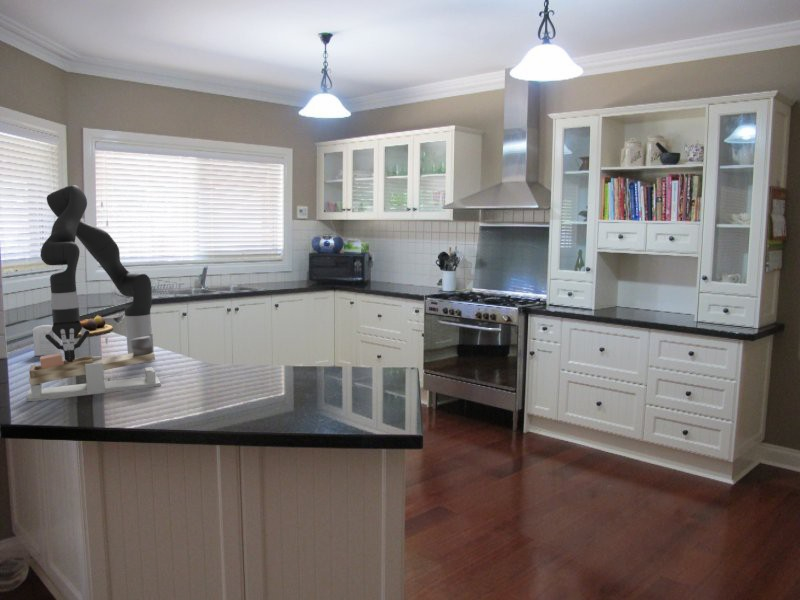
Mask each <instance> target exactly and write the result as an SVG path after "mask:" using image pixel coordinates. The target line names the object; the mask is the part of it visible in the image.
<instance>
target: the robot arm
mask: <svg viewBox="0 0 800 600" xmlns="http://www.w3.org/2000/svg"><path fill="white" fill-rule="evenodd" d="M46 202H47V205H48V207H49V208H50V210H51V211H52V213H54V215H55V216H56V217H57V218H56V220H55V221H54V223H53V224H52V228H51V233H50V235H49V237H48V238H47V239H46V240H45V241H44V243H43V244H42V245H41V249H40V257H41V258H40V259H41V261H42V262H43V263H44V264H45V265H47V266H66V269H65V270H63V271H60V272H56V273H52V274H51V275H50V277H49V285H50V307H51V315H52V325H53V327H52V330H51V331H50V332H49V333H47V334H46V335H45V337H46V338H47V339H48V340H49V341H50V342H51V343H52V344H53V345H54V346H55V347H56V348H57V349H61V350H62V351H63V355H64V360H66V361H68V362H73V360H75V358H76V354H75V350H76V349H78V348H80V347H81V346H82V344H83V343H84V342H85V340H86V339H87V338H88V337H87V336H88V335H89V333H90V332H89V330H86V329H84V328H82V325H81V323H80V320H81V319H80V317H81V316H80V305H79V304H80V303H79V298H78V294H77V282H76V276H77V274H76V273H77V267H78V264H79V263H78V262H79V257H80V247H79V246H78V245H77V243H76V238H77V239H78V240H79V241H80V243H81V244H82V245H83V246H84V247H85V249H86V250H87V251H88V252H89V254H90V255H91V256H92V257H93V259H94V260H95V261H97V263H98V264H99V265H100V266H101V268H102V269H103V270H104V272H105V273H106V274H107V276H109V278H110V280H111V281H112V283H113V284H114V285H115V288H116V289H117V290H118V291H119V293H120V294H121V295H122V296H124V297H128V298H132V304H131V305H129V306H126V307H125V308H124V323H125V333H126V348H127V354H130V353H133V350H132V345H131V340H132V339H134V338H138V337H144V336H150V339H151V345H152V350H153V353H154V354H155V351H154V349H155V348H154V336H153V333H152V332H153V331H152V318H151V316H152V315H151V309H152V305H153V302H152V301H153V298H152V297H153V296H152V295H153V294H152V293H153V292H152V291H153V290H152V281H151V278H150V277H149V276H148V275H147V274H146V273H139V272H138V273H137V272H135V273H134V272H130V271H129V270H127V268H125V266H124V265H123V263H122V262H121V258H120V257H121V256H120V248H119V246H118V244H117V243H116V241H115V240H114V239H113V238H112V237H111V235H110V234H109V233H108V232H107V231H106V230H104V229H102V228H100V227H98V226H95V225H93V224H89V223H88V222H85V221H82V220H81V219H82V218H83V216H84V213H85V211H86V209H87V206H88V200H87V196H86V194H85V193H84V191H83V190H82V189H81V187H79V186H78V185H75V184H71V185H67V186H65V187H63V188H60V189H58V190H55V191H53V192H50V193H49V194H48V195H47V196H46ZM80 331H81V335H82V336H81V337H80V338H79V339H78V341H76V343H75V339H76V337H77V335H78V334H79V332H80ZM53 333H55V334H56V335H57V336H58V337H59V338H60V339H61V344H60V343H58V342H57V341H56V340H55V339H54V334H53ZM68 339H69V344H68Z"/></svg>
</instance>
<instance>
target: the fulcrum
mask: <svg viewBox="0 0 800 600" xmlns="http://www.w3.org/2000/svg"><path fill="white" fill-rule="evenodd" d="M92 357H93V361H95V360H100V359H103V357H102V355H100V356H99V355H98V356H92ZM85 370H86V374H85V379H86V381H85V382H86V383H80V384H78V383H77V384H71V385H69V384H68V385H61V386H53V387H44V388H43V385H42V384H43V383H41V384H36V385H31V386H30V389H29V390H28V393H27V396H26V402H27V401H33V402H39V401H38V400H41V401H47V400H46V399H49V400H56V399H57V400H58V399H64V398H73V397H81V396H90V395H98V394H99V395H100V394H106V393H113V392H120V391H121V392H123V391H130V390H138V389H148V388H153V387H154V386H156V387H161V381H160V379H159V377H158V375H156V371H155V370H154V368H153V367H152V366H151V367H144V373H145V376H139V377H133V378H132V377H131V378H123V379H114V380H105V373H104V372H105V370H104V371H103V362H100V363H90V364H85ZM147 387H148V388H147Z"/></svg>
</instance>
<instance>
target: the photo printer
mask: <svg viewBox="0 0 800 600" xmlns="http://www.w3.org/2000/svg"><path fill="white" fill-rule="evenodd" d="M52 327H53V324H42V325H38V326H35V327H33V328H32V329H33V330H32V336H33V337H32V338H33V339H32V340H33V350H34V352H33V353H34V356H35V357H41V356H46V355H51V354H57V353H62V354H63V350H61V349H57V348H56V347H55V346H54V345H53V344H52V343H51V342H50V341H49V340H48V339H47V338H46V337H45V335H46V334H47V333H49V332H50V331H51V330H52ZM53 334H54V339H55V340H56V341H57V342H58V343H60V344H61V345H62V339H60V338H59V337H58V336H57V335H56V334H55V333H53Z"/></svg>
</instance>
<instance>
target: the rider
mask: <svg viewBox="0 0 800 600" xmlns="http://www.w3.org/2000/svg"><path fill="white" fill-rule="evenodd" d="M39 357H40V358H39V363H40V365H41V368H42V369H44V368H49V367H55V366H60V365H64V356H63V352H62V353H57V354H51V355H46V356H39Z"/></svg>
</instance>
